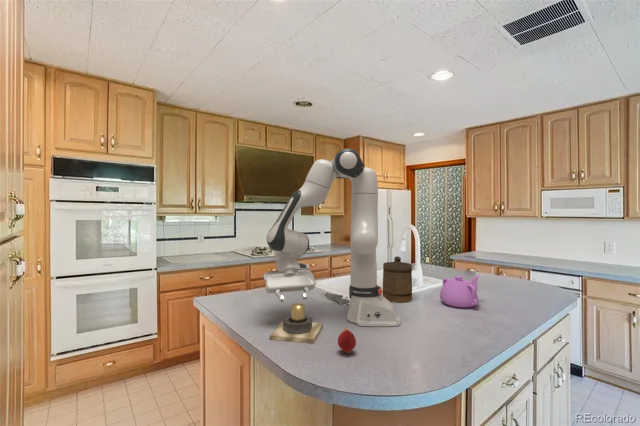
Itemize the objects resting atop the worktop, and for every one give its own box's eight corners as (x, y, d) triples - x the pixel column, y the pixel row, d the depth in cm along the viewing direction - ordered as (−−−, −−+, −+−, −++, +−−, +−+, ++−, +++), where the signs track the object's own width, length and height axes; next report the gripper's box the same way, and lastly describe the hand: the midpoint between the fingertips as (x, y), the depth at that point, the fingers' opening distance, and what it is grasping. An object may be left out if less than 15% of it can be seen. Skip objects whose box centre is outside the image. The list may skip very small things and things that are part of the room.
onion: (354, 348, 106) (354, 324, 106) (357, 356, 101) (357, 331, 101) (336, 349, 106) (336, 325, 106) (338, 357, 100) (338, 331, 100)
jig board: (322, 327, 126) (322, 314, 126) (313, 343, 111) (313, 329, 111) (283, 324, 130) (283, 311, 130) (269, 339, 114) (269, 325, 114)
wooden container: (415, 297, 170) (415, 255, 170) (407, 304, 157) (407, 259, 157) (388, 293, 177) (388, 254, 177) (378, 300, 165) (378, 257, 165)
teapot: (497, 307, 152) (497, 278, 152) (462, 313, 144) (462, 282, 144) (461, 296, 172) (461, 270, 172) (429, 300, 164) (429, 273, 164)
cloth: (359, 307, 155) (359, 302, 155) (331, 308, 152) (331, 304, 152) (344, 293, 180) (344, 289, 180) (320, 294, 178) (320, 290, 178)
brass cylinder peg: (305, 327, 122) (306, 303, 122) (302, 331, 117) (302, 307, 117) (293, 326, 123) (293, 302, 123) (289, 330, 118) (289, 306, 118)
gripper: (263, 267, 129) (267, 298, 120) (312, 264, 136) (319, 293, 126) (262, 276, 133) (266, 306, 124) (309, 273, 140) (316, 301, 131)
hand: (293, 299), depth 125 cm, fingers open, 8 cm apart
